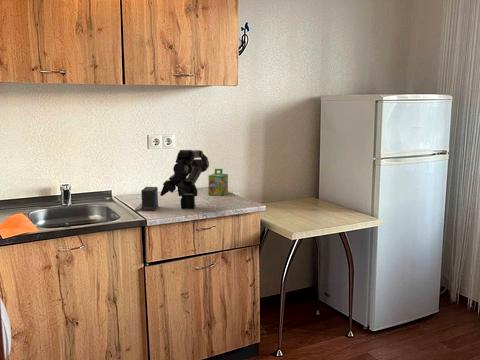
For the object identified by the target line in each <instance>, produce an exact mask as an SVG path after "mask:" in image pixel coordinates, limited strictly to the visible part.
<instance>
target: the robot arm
mask: <svg viewBox="0 0 480 360" xmlns="http://www.w3.org/2000/svg"><path fill="white" fill-rule="evenodd" d="M209 168H210V162H209V159H208V157H207V155H205V154H204V152H203V150H201V149H197V150H196V149H195V150H194V149H179V152H177V156H176V159H175V164H174V165H173V167H172V169H173V170H172V171H173V174H172V175H170V177H169V178H168V179H167V180H165V181H164V182H163V183H162V185H163V186H162V188H161V192H160V194H159V195H160V196H161V197H163V196H165V195H166V194H167V193H168V192H170V193H174V192H175V190H176V189H177V192H178V193H177V194H178V197H181V198H180V208H181V210H184V209H187V210H188V209H189V210H193V209H195V208H196V201H195V199H196V197H198V195H199V194H198V193H199V192H198V188H197V186H196V182H197V181H198V179H199V177H200V176H201V174H202V173H205V172H206V171H207V170H208V169H209Z"/></svg>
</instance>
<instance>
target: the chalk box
mask: <svg viewBox="0 0 480 360" xmlns="http://www.w3.org/2000/svg"><path fill="white" fill-rule="evenodd" d="M223 170H224V169H223V168H215V169H214V173H211V174H208V181H207V182H208V188H207V189H208V196H218V197H224V196H225V195H228V193H229V174H228V173H223ZM218 171H219V172H218Z"/></svg>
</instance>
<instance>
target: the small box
mask: <svg viewBox="0 0 480 360" xmlns="http://www.w3.org/2000/svg"><path fill="white" fill-rule="evenodd" d="M140 191H141V204H142V210H141V212H143V211H144V212H151V211H152V212H154V211H155V210H156V209H157V208H158V207H159V194H158V187H157V186H145V187H144V188H143V189H141V190H140Z"/></svg>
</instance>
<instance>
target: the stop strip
mask: <svg viewBox="0 0 480 360" xmlns="http://www.w3.org/2000/svg"><path fill="white" fill-rule="evenodd" d="M134 212H142V203H140V204H138V206H136V208H135V209H134Z"/></svg>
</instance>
